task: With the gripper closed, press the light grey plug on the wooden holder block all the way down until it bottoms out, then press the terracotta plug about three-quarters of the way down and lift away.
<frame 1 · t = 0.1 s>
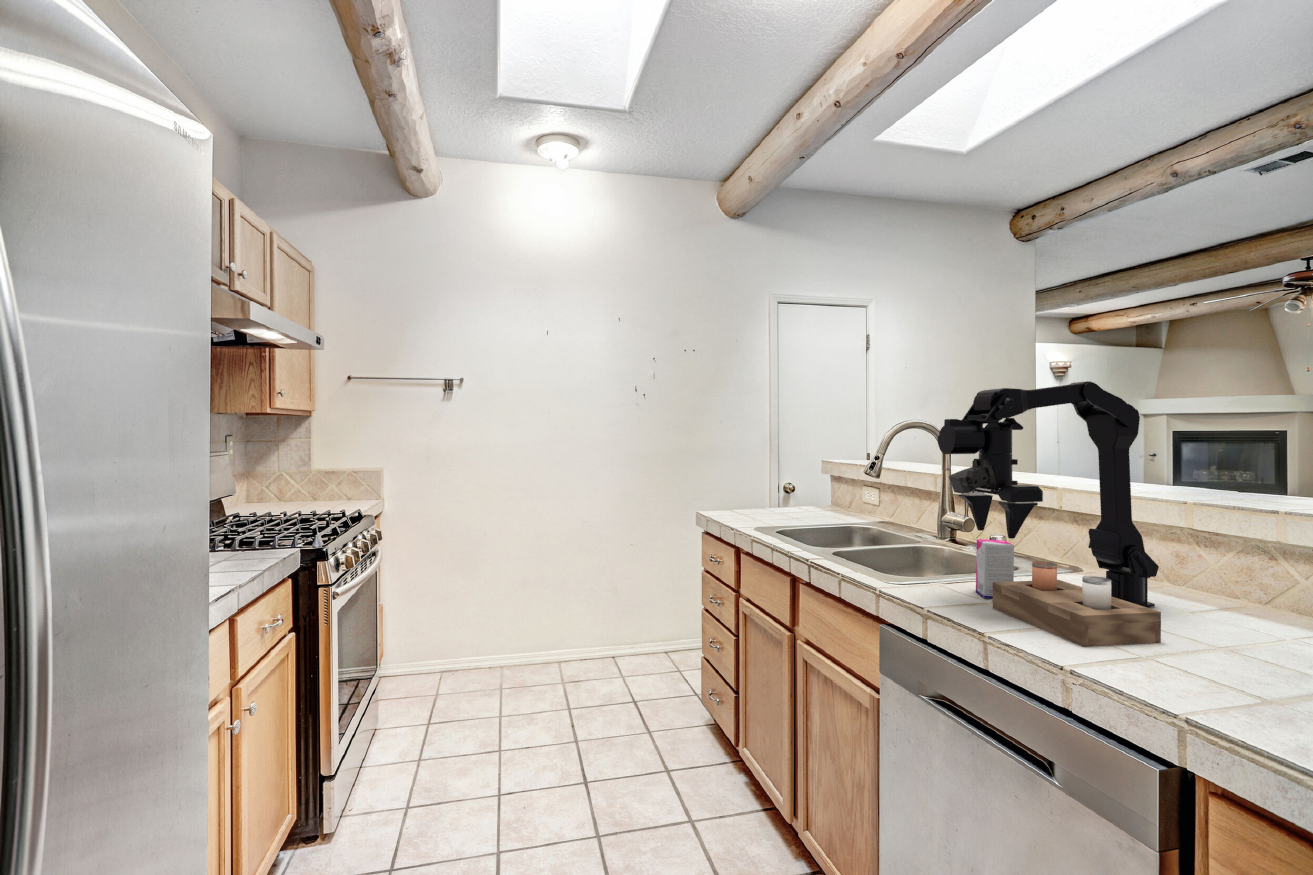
hand: (995, 534, 120), 15 cm above the counter, tool pointing down, fingers open, 9 cm apart
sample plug: (1096, 594, 105), point 7 cm above the counter, slide at 0.0 cm
terracotta plug: (1044, 578, 117), point 7 cm above the counter, slide at 0.0 cm
supplement box: (994, 596, 130), on the counter
wooden holder block: (1069, 623, 111), on the counter
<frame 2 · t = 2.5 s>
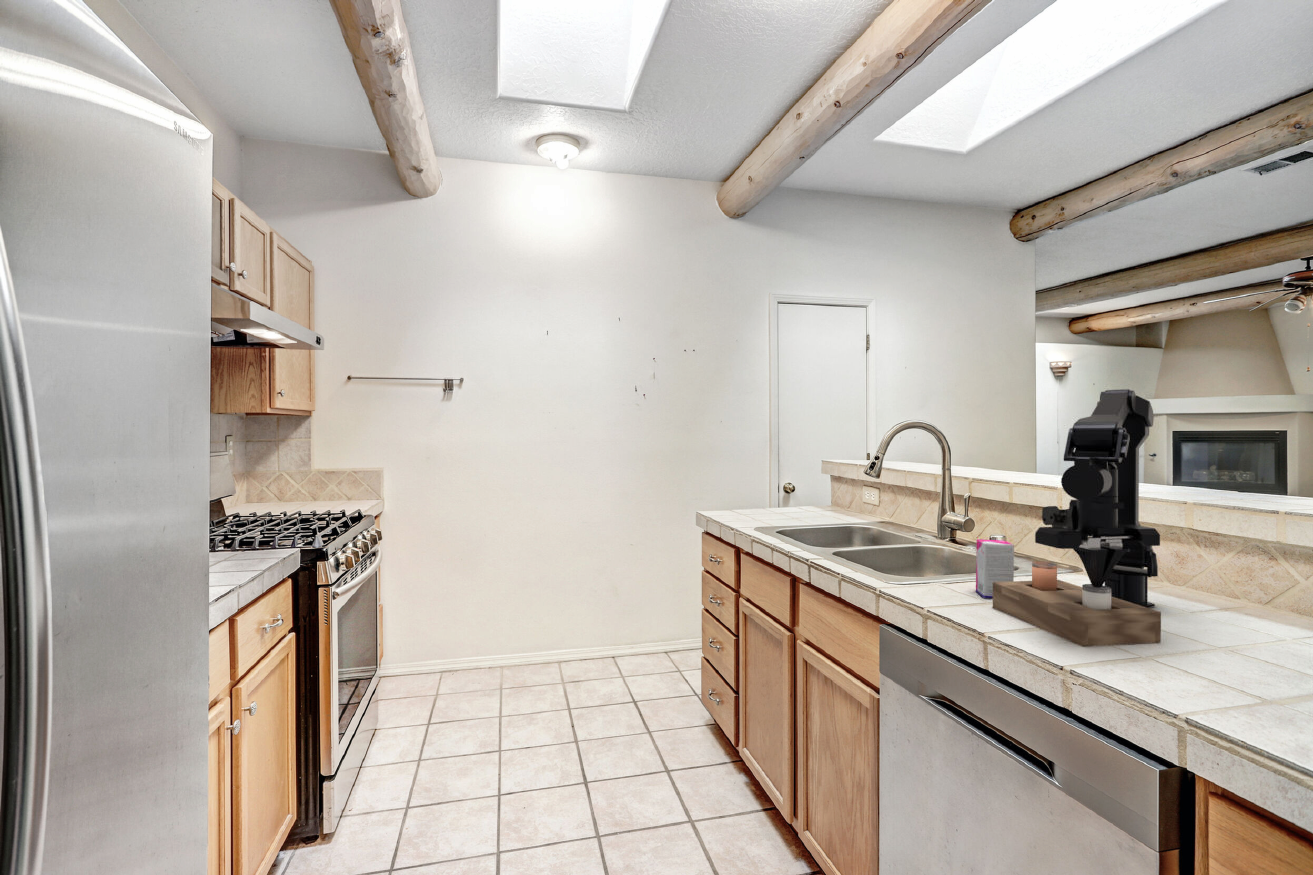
hand: (1096, 586, 105), 8 cm above the counter, tool pointing down, fingers closed, pressing on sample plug
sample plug: (1096, 603, 105), point 5 cm above the counter, slide at 1.4 cm, touching gripper
everything else where it was.
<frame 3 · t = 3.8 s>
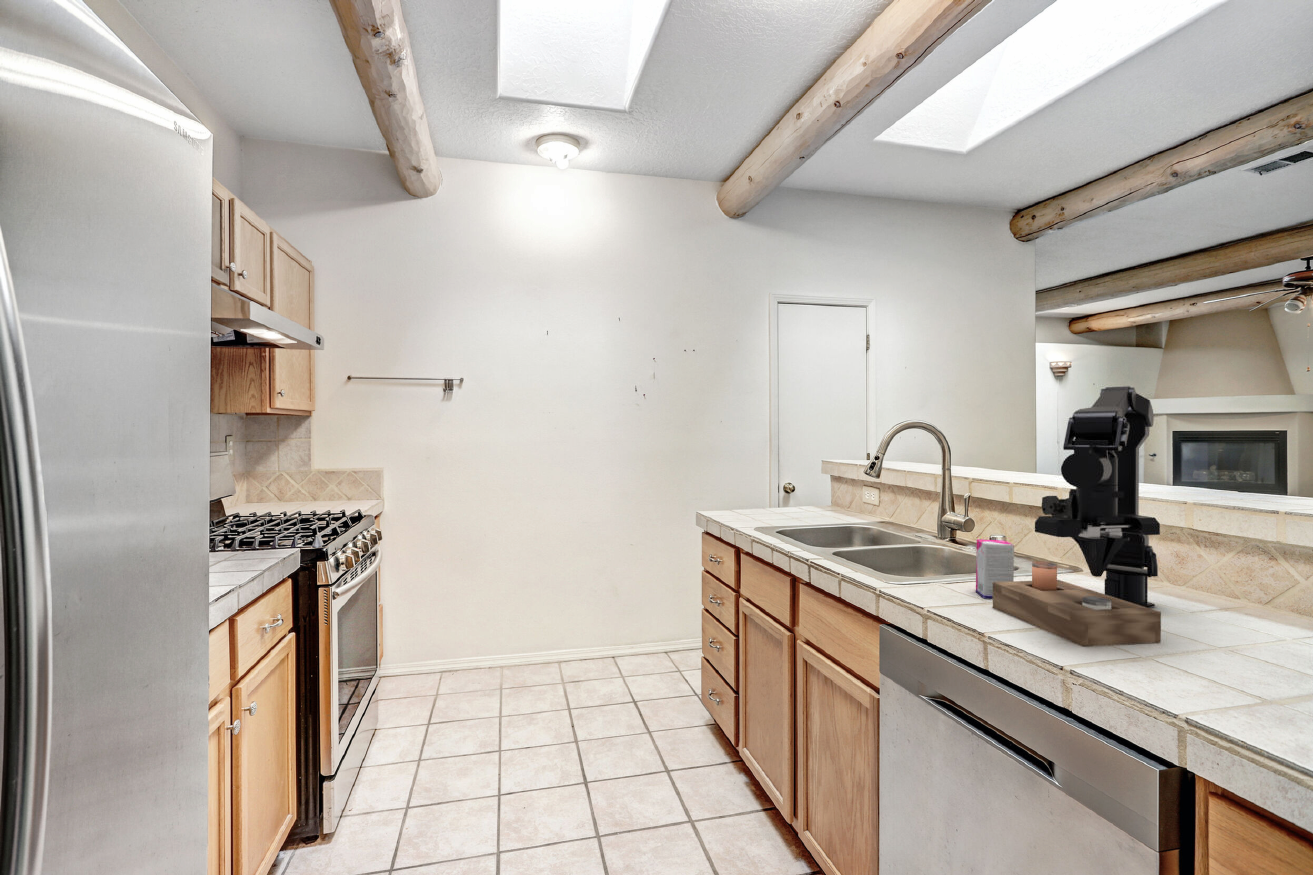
hand: (1096, 576, 105), 10 cm above the counter, tool pointing down, fingers closed
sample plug: (1096, 615, 105), point 3 cm above the counter, slide at 3.5 cm
everything else where it was.
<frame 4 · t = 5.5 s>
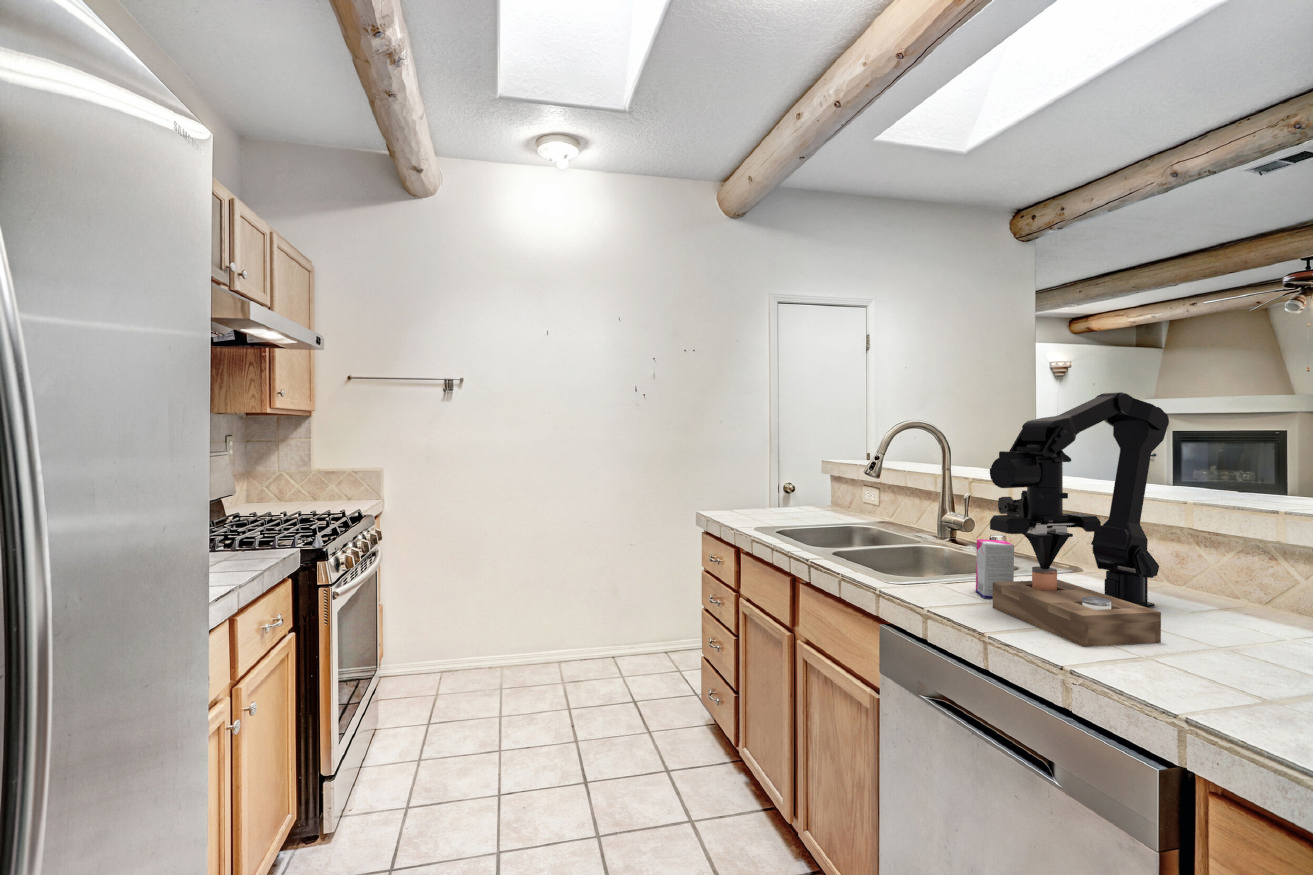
hand: (1044, 568, 117), 9 cm above the counter, tool pointing down, fingers closed, pressing on terracotta plug
terracotta plug: (1044, 583, 117), point 6 cm above the counter, slide at 1.0 cm, touching gripper
everything else where it was.
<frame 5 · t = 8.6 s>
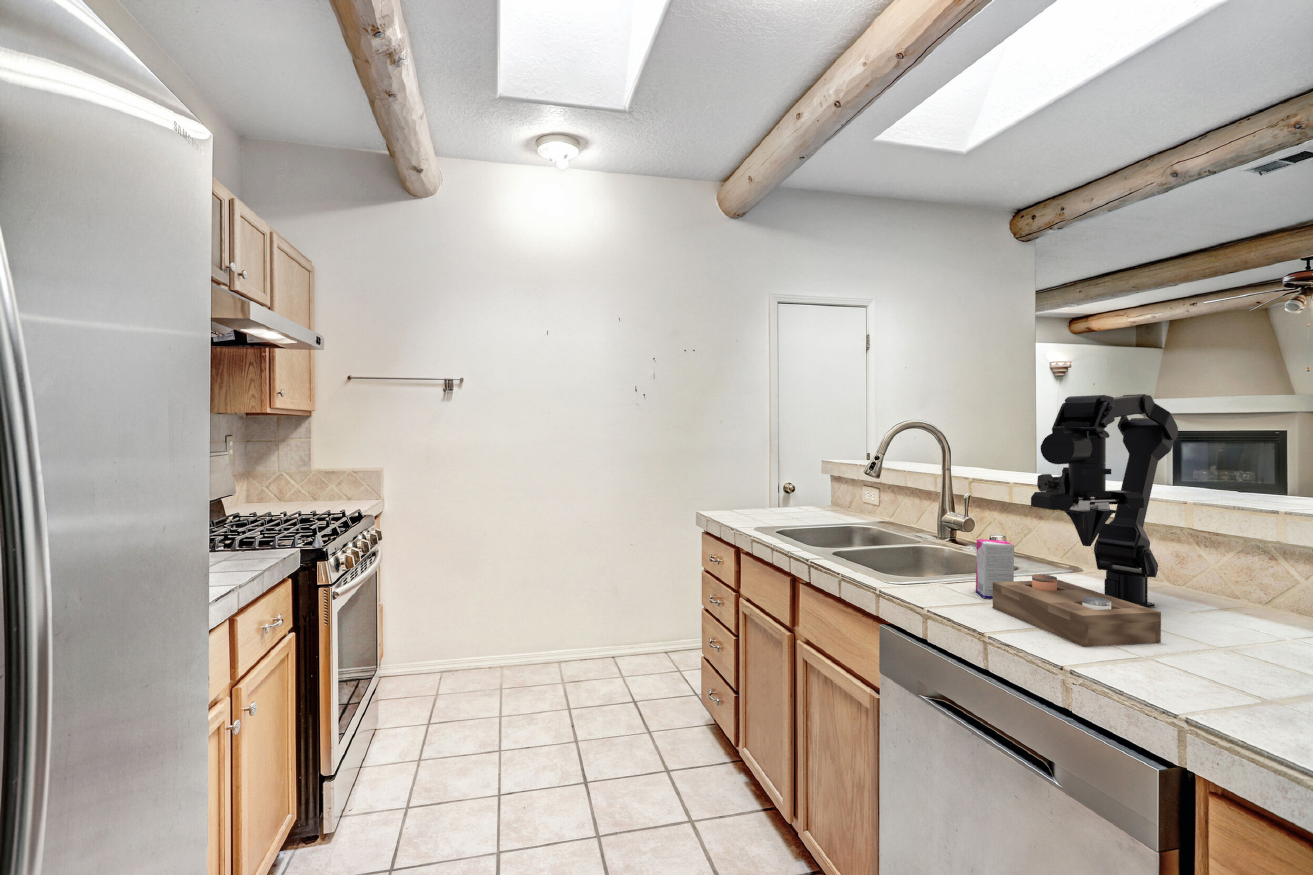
hand: (1086, 545, 115), 13 cm above the counter, tool pointing down, fingers closed
terracotta plug: (1044, 591, 117), point 4 cm above the counter, slide at 2.5 cm
everything else where it was.
at the end: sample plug slide at 3.5 cm; terracotta plug slide at 2.5 cm; supplement box moved 0.2 cm from its start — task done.
